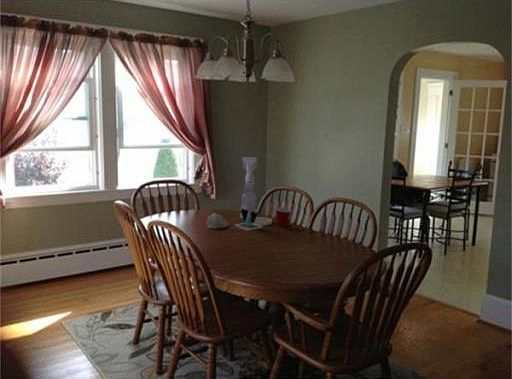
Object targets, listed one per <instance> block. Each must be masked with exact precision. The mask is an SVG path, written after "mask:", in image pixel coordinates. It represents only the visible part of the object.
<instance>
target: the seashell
mask: <svg viewBox="0 0 512 379" xmlns="http://www.w3.org/2000/svg"><path fill="white" fill-rule="evenodd" d="M205 223H206V226H207V228H208V229H209V228H210V229H209V230H212V229H213V230H216V229H223V228H228V226H229V222H228V221H227V220H226V219H224V218H223V217H222V216H221V215H220V214H218V213H217V212H214V213H212V214H211V215H209V216H208V217H207V218H206V222H205Z"/></svg>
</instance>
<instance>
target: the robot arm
mask: <svg viewBox="0 0 512 379" xmlns="http://www.w3.org/2000/svg"><path fill="white" fill-rule="evenodd" d="M257 167H258V158H257V157H247V156H243V157H242V169H244V170H245V171H246V173H245V178H244V180H245V183H244V194H242V196H241V206H240V214H239V215H240V219H242V220H243V222H246V218H247V217H251V223H254V222H255V219H256V217H258V214H259V210H258V209H257V208H255V207H256V206H257V196H256V194H255V191H256V184H255V176H254V174H253V172H254V170H257Z"/></svg>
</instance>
